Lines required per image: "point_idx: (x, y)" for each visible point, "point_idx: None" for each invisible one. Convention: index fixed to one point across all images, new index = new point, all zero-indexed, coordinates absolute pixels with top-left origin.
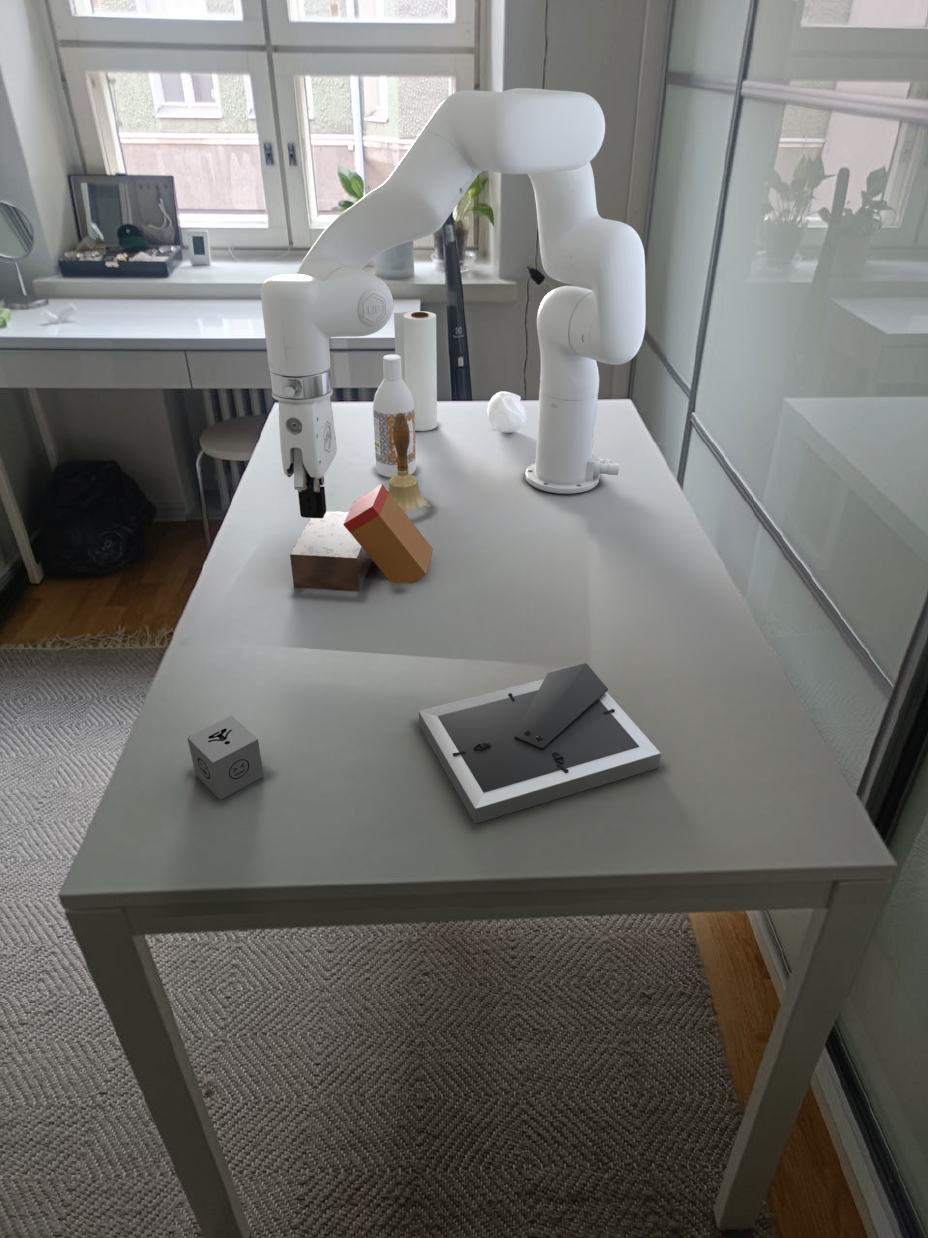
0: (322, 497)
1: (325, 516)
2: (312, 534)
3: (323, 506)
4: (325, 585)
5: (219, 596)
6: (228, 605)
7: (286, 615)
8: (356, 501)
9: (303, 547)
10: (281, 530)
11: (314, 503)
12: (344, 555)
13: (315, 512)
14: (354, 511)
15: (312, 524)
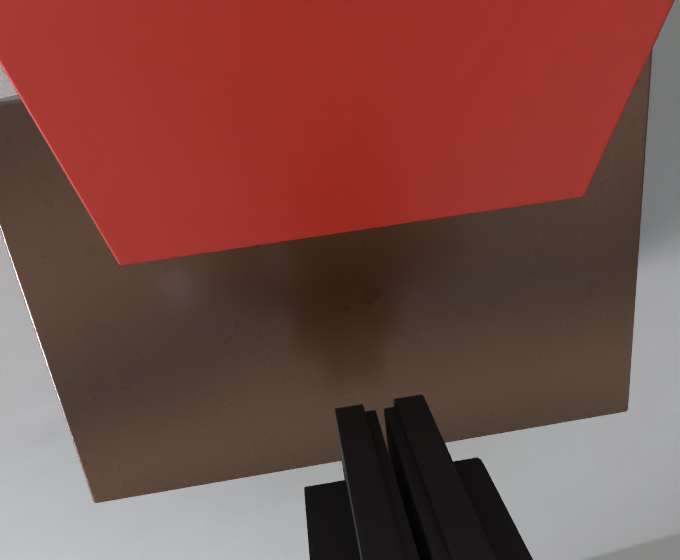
0: (461, 506)
1: (146, 418)
2: (391, 396)
3: (424, 444)
4: None
5: (553, 525)
6: (603, 478)
7: (654, 280)
8: (163, 231)
9: (549, 379)
10: (43, 556)
11: (507, 519)
12: (621, 116)
13: (480, 461)
14: (439, 157)
15: (273, 443)
